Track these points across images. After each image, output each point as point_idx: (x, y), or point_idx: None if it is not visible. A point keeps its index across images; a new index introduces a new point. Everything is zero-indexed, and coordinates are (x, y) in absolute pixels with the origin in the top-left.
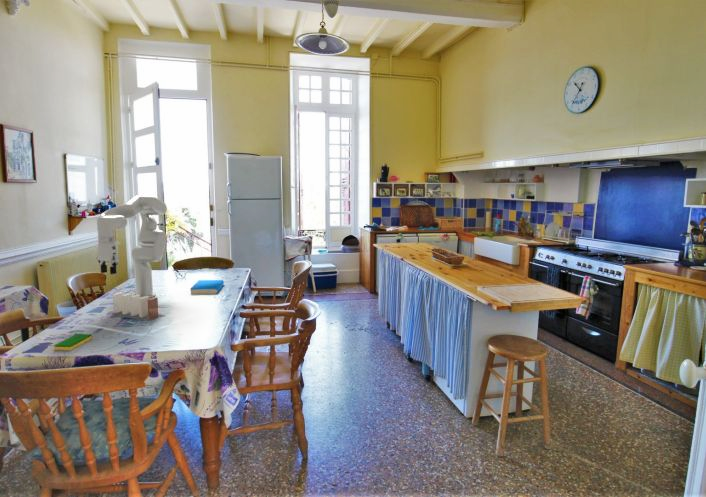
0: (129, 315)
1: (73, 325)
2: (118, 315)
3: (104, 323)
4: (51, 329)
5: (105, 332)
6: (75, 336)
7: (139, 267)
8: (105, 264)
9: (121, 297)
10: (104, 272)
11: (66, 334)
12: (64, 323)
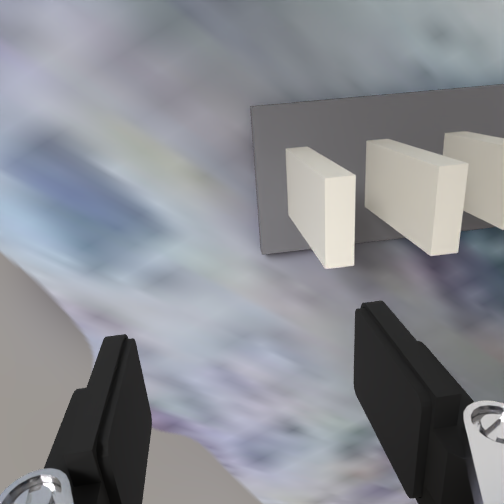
0: None
1: (273, 416)
2: (368, 237)
3: None
4: (242, 481)
5: (490, 388)
6: None
7: None
8: (65, 478)
9: (423, 249)
10: (142, 382)
11: (361, 473)
12: (204, 425)
